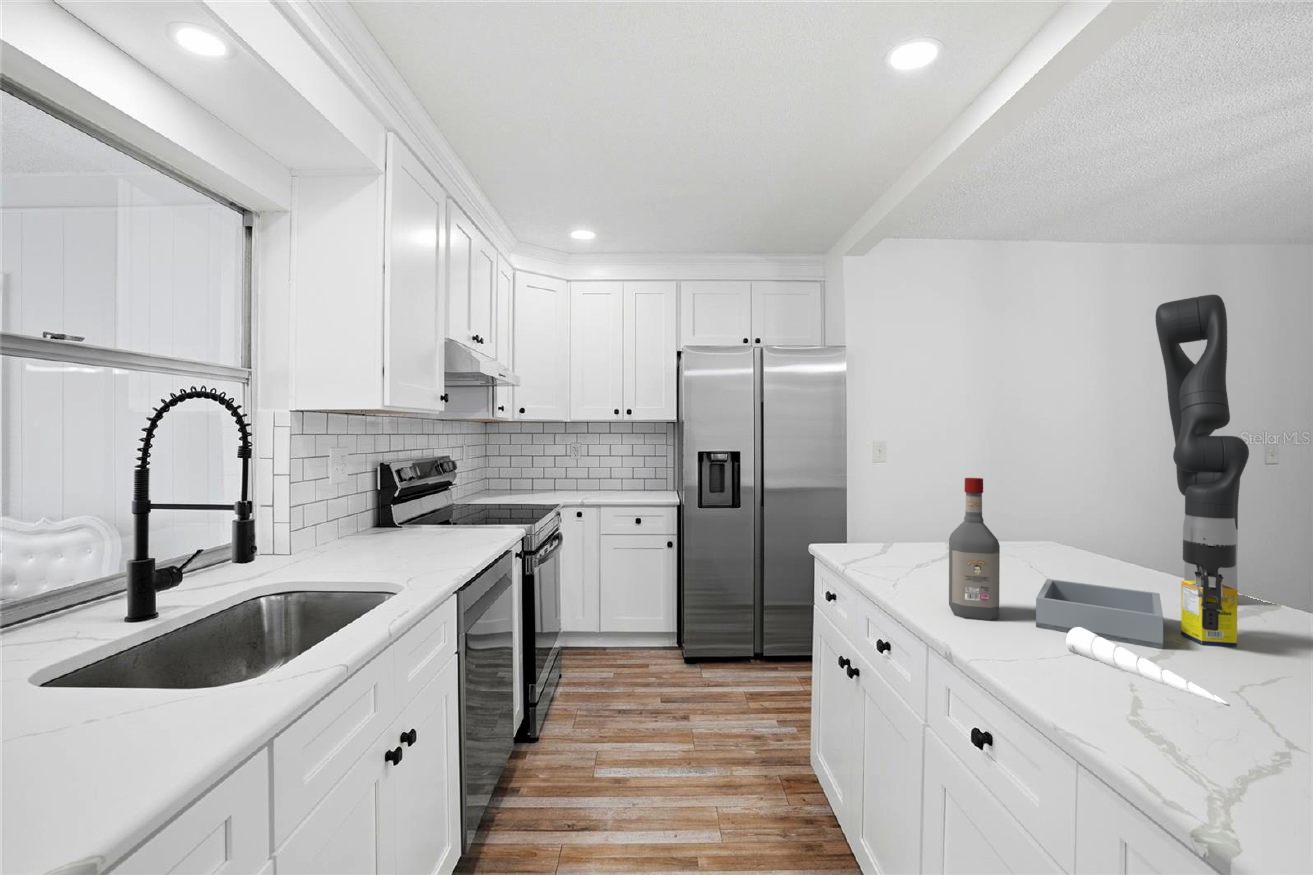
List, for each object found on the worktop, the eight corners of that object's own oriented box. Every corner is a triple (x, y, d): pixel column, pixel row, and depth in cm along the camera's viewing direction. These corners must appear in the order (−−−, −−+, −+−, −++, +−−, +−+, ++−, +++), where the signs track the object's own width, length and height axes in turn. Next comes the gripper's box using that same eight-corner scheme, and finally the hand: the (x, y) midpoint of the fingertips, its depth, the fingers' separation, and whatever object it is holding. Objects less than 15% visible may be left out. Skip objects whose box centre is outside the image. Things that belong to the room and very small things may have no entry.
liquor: (1001, 622, 127) (1002, 480, 126) (953, 617, 130) (954, 479, 129) (992, 609, 135) (992, 477, 135) (947, 605, 138) (948, 476, 138)
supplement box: (1238, 647, 112) (1238, 589, 111) (1200, 645, 113) (1201, 587, 113) (1215, 636, 117) (1216, 581, 117) (1180, 634, 119) (1180, 579, 118)
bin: (1046, 604, 139) (1047, 578, 139) (1159, 621, 127) (1159, 593, 126) (1035, 627, 123) (1036, 598, 123) (1162, 649, 111) (1163, 616, 111)
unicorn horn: (1210, 711, 87) (1210, 678, 87) (1062, 652, 110) (1062, 626, 110) (1233, 707, 89) (1234, 675, 89) (1083, 650, 112) (1083, 624, 112)
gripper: (1180, 532, 123) (1179, 611, 123) (1185, 542, 112) (1184, 629, 112) (1231, 536, 118) (1230, 618, 118) (1241, 547, 107) (1240, 638, 107)
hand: (1207, 623), depth 115 cm, fingers open, 8 cm apart
